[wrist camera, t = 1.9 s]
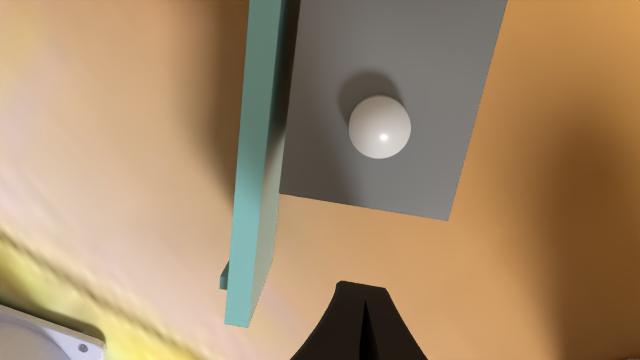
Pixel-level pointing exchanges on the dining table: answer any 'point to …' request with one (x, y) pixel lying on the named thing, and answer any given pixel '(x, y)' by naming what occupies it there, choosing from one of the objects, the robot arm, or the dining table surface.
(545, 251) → the dining table surface
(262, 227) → the side door
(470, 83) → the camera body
